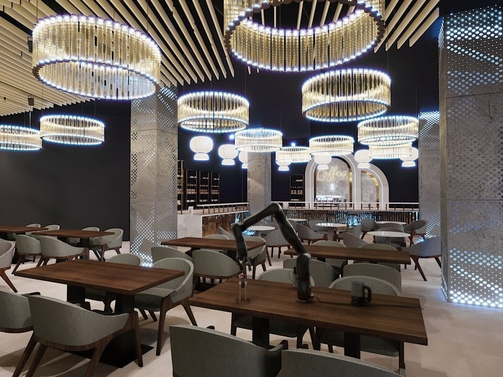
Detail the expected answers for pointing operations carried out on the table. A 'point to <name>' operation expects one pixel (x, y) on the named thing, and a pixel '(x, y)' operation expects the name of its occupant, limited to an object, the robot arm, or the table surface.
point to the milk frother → (360, 293)
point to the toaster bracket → (240, 290)
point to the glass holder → (294, 277)
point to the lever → (242, 281)
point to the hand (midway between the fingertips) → (246, 270)
